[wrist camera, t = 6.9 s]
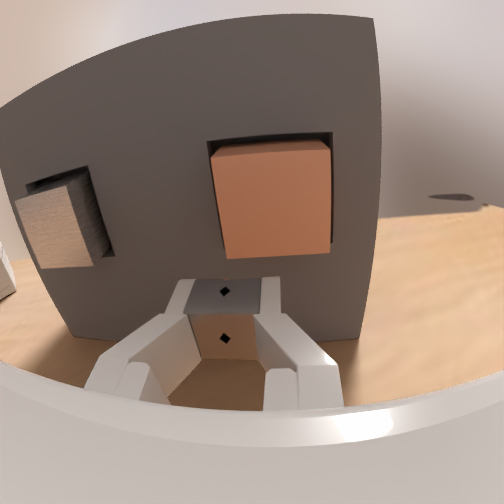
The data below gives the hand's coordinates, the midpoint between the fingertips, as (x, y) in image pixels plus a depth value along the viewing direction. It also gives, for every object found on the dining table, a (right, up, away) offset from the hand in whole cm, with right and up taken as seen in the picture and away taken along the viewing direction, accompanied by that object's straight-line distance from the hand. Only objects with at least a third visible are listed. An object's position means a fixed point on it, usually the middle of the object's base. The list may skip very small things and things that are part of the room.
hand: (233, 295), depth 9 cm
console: (-3, -4, +14) cm, 15 cm away
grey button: (-11, +1, +8) cm, 13 cm away
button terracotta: (+2, +2, +7) cm, 7 cm away
